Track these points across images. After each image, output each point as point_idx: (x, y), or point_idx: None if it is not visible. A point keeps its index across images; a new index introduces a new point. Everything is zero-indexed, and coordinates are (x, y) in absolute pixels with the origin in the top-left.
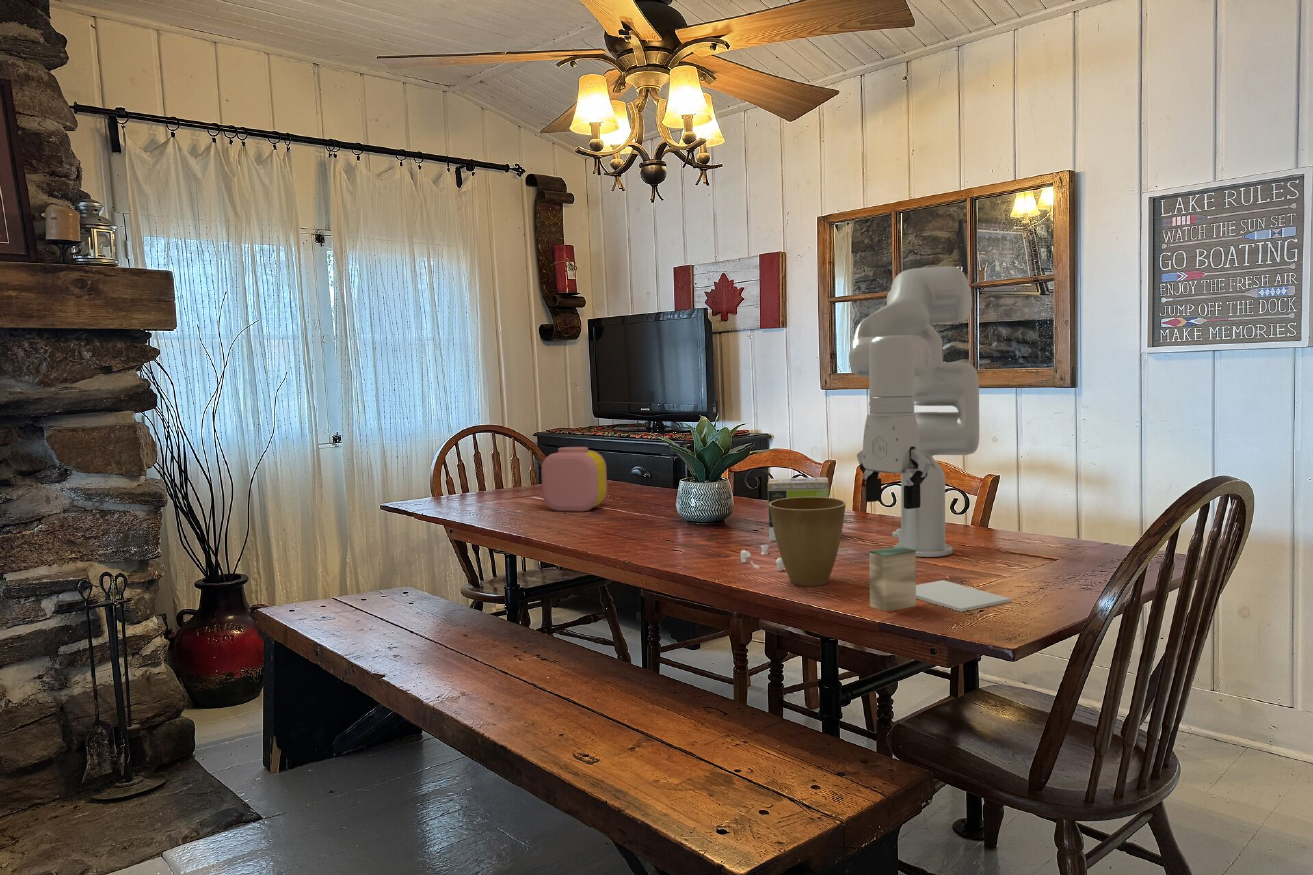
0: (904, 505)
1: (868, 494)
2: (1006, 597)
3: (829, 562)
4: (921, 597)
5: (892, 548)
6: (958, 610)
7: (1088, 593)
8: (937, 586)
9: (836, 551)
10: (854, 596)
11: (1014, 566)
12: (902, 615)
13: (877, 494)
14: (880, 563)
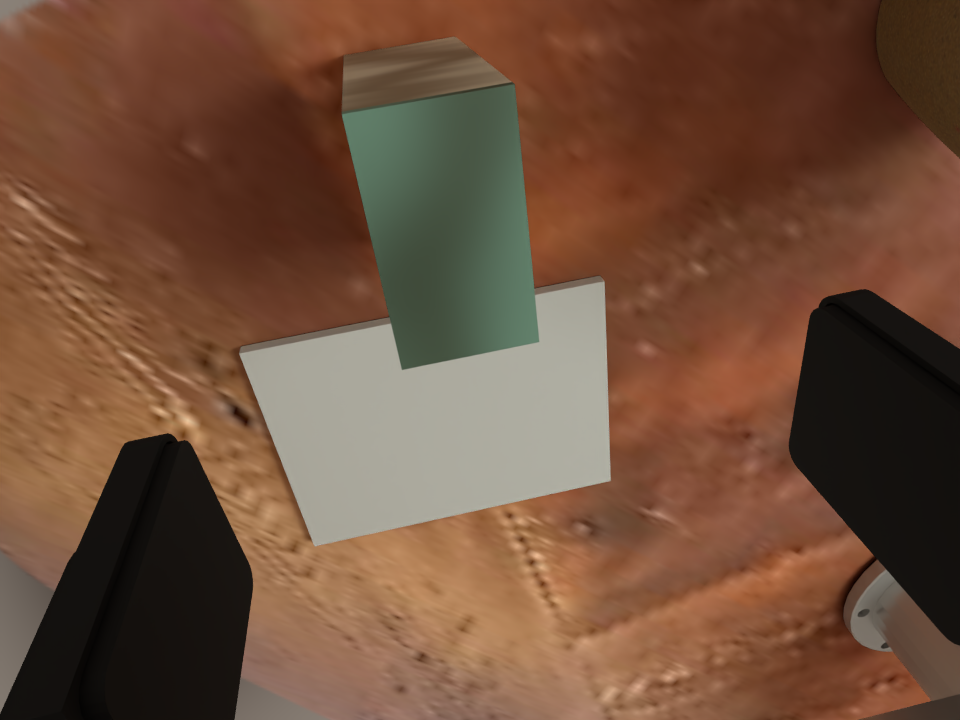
0: (146, 451)
1: (877, 346)
2: (331, 542)
3: (921, 71)
4: None
5: (508, 274)
6: (254, 346)
7: (327, 716)
8: (552, 428)
9: (957, 142)
10: (635, 67)
11: (644, 690)
12: (261, 98)
13: (836, 456)
14: (388, 92)
